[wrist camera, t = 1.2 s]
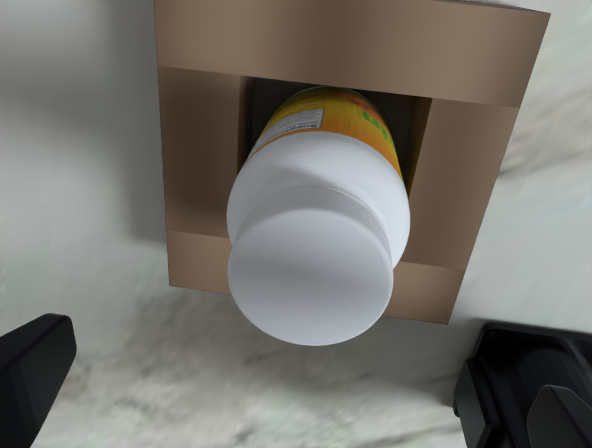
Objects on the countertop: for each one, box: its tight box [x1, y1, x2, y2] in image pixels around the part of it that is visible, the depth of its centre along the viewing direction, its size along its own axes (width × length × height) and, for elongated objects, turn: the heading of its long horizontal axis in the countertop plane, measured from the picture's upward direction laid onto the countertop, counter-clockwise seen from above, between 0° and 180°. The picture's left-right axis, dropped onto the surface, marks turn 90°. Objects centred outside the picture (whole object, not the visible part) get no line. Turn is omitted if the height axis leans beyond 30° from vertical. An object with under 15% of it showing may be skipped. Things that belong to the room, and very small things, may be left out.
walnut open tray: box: [154, 0, 551, 325], centre depth 18 cm, size 12×12×3 cm
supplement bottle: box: [227, 85, 410, 346], centre depth 15 cm, size 5×5×10 cm
